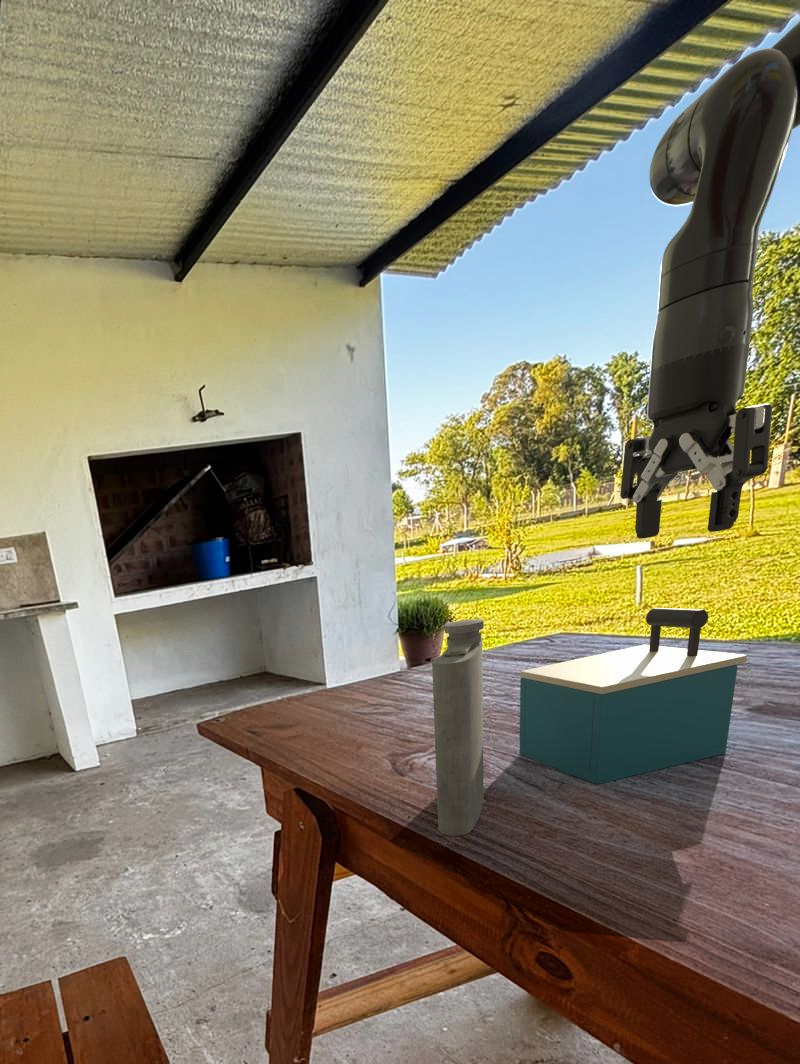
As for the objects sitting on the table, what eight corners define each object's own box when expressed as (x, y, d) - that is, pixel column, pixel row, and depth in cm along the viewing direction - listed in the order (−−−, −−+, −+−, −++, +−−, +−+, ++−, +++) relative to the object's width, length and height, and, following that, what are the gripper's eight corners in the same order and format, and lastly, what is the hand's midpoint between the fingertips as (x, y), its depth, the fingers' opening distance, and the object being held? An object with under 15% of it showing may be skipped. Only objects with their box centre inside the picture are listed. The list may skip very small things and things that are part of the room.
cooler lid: (644, 650, 77) (647, 603, 75) (746, 662, 65) (754, 606, 63) (520, 677, 76) (520, 629, 74) (601, 694, 63) (605, 638, 61)
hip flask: (452, 778, 75) (448, 612, 68) (489, 778, 73) (488, 607, 66) (436, 835, 63) (428, 637, 55) (480, 837, 61) (477, 632, 54)
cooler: (630, 728, 81) (636, 652, 77) (725, 753, 68) (738, 664, 65) (519, 754, 79) (520, 677, 76) (596, 784, 67) (601, 695, 63)
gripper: (812, 319, 53) (783, 521, 59) (668, 373, 66) (655, 533, 72) (736, 332, 52) (713, 535, 58) (605, 384, 66) (597, 545, 71)
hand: (681, 534), depth 65 cm, fingers open, 8 cm apart
